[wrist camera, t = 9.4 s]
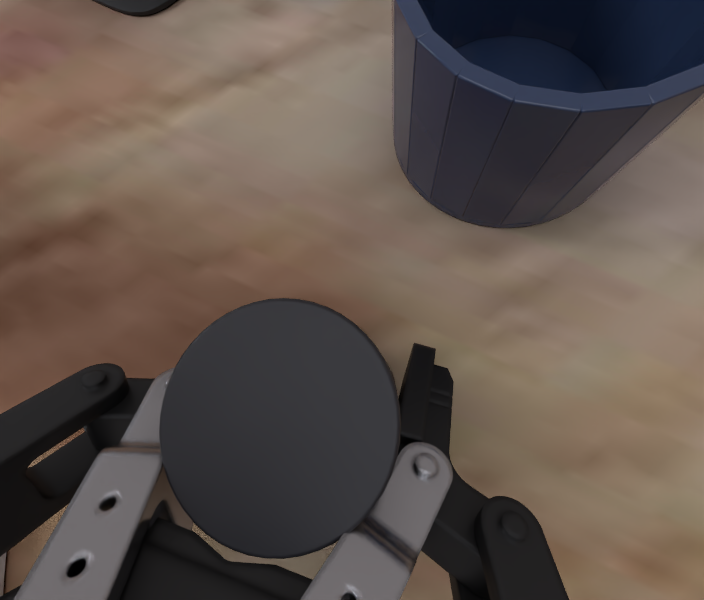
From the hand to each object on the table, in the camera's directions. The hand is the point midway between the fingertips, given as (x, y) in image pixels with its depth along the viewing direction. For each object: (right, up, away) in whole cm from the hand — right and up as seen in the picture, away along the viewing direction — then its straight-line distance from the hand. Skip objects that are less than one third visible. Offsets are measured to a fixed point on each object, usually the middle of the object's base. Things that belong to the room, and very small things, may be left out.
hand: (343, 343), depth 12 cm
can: (+8, +10, +6) cm, 14 cm away
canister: (0, -3, +4) cm, 5 cm away
